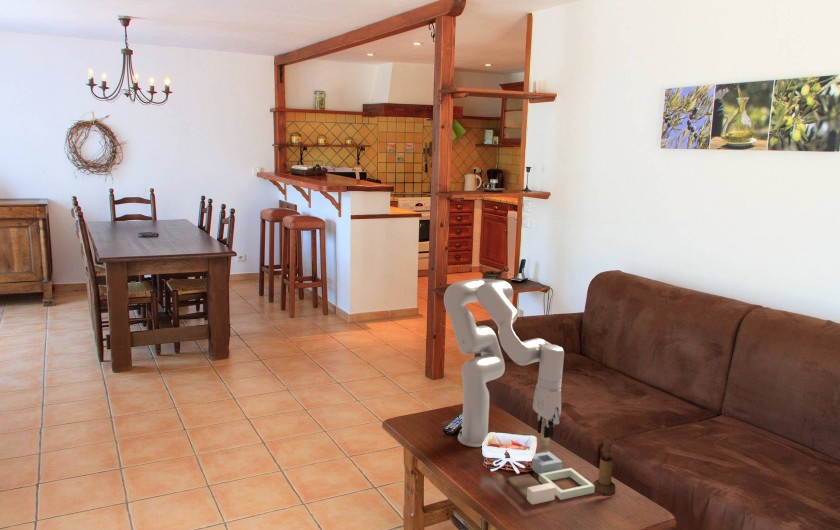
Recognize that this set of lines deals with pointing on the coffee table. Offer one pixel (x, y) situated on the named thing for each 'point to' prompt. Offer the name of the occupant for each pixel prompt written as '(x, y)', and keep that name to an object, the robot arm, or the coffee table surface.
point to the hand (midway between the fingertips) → (545, 434)
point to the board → (523, 483)
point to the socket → (546, 463)
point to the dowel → (543, 441)
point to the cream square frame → (572, 492)
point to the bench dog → (541, 493)
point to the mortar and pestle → (605, 471)
